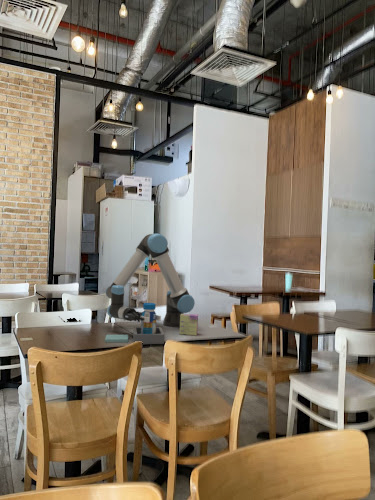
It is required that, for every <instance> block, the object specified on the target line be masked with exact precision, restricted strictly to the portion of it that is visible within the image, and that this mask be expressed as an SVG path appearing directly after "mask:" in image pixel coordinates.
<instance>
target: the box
mask: <svg viewBox="0 0 375 500" xmlns="http://www.w3.org/2000/svg"><path fill="white" fill-rule="evenodd" d="M198 326H199V314H195V313H194V314H193V313H184V314H181V315H180V326H179V335H183V334H186V336H198V329H199V328H198Z"/></svg>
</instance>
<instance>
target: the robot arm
mask: <svg viewBox="0 0 375 500" xmlns="http://www.w3.org/2000/svg"><path fill="white" fill-rule="evenodd" d="M168 243H169V242H168V239H167V238H166V237H165V236H164V235H163V234H162V233H161V234H160V233H149V234H146V235H144V237H143V238H142V239H141V241H140V242H139V243H138V245H137V246H136V248H135V252H134V254H132V256H131V257H130V259H129V260H128V262H127V263H126V264H125V266H124V267H123V268H122V270H121V271H120V273H119V274H118V275H117V277H116V278H115V279H114V281H113V282H112V284H111V285H110V286H108V287H107V288H106V289H105V295H106V296H107V298H108V299H110V305H109V306H108V307H107V310H106V313H107V315H108V316H109V317H112V319H113V318H114V319H118V320H119V319H120V320H123V321H129V322H133V321H135V322H137V323H141V321H143V322H148V323H149V321H150V317H145V316H142V313H143V311H142V312H141V311H137V310H136V309H135V308H134V307H129V306H124V305H125V304H124V303H125V287H126V286H127V284H128V283H129V282H130V280H131V279H132V277H133V276H134V274H135V273H136V271H138V269H139V268H140V266H141V265H142V264H143V262H144V261H145V259H146V258H149V257H151V258H152V259H153V260H155V261H156V264H157V265H158V268H159V270H160V272H161V274H162V277H163V279H164V280H165V284H166V285H167V287H168V289H169V290H168V291H167V292H166V304H165V305H166V309H165V310H166V311H165V316H164V317H163V321H162V322H163V323H162V324H163V326H166V327H176V328H177V327H179V328H180V315H181V314H189V313H190V312H191V311H192V310H193V309H194V307H195V305H196V303H195V299H194V297H193V296H192V295H191V294H190V293H189V291H188V288H186V287H185V286H184V285H183V283H182V281H181V279H180V277H179V274H178V273H177V270H176V268H175V266H174V264H173V262H172V260H171V257H170V255H169V252H170V250H169V247H168ZM161 317H162V316H161V315H160V314H159V315H158V314H156V321H158V322H161V320H162V319H161Z"/></svg>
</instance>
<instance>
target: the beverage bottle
mask: <svg viewBox="0 0 375 500" xmlns="http://www.w3.org/2000/svg"><path fill="white" fill-rule="evenodd" d="M142 309H143V311H142V312H143V313H142V316H145V317H150V321H149V323H148V322H143V321H140V323H141V325H140V327H141V334H156V327H157V320H156V315H157V313H156V311H155V310H156V303H155V302H144V303H143V304H142Z"/></svg>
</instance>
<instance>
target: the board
mask: <svg viewBox="0 0 375 500" xmlns="http://www.w3.org/2000/svg"><path fill="white" fill-rule="evenodd" d="M104 343H129V334H106V336H105V339H104Z"/></svg>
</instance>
